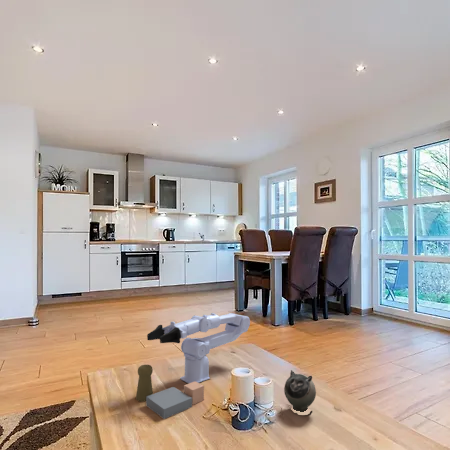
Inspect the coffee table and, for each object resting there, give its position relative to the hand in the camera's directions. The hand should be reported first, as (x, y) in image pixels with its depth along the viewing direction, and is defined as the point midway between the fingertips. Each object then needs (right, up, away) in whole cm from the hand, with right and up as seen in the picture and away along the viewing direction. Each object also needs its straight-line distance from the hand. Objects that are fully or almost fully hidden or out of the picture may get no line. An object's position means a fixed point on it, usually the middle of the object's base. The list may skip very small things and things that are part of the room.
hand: (153, 338), depth 116 cm
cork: (-3, -20, -2) cm, 21 cm away
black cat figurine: (+50, -21, -9) cm, 55 cm away
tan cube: (+15, -21, -3) cm, 25 cm away
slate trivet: (+7, -20, -7) cm, 23 cm away
